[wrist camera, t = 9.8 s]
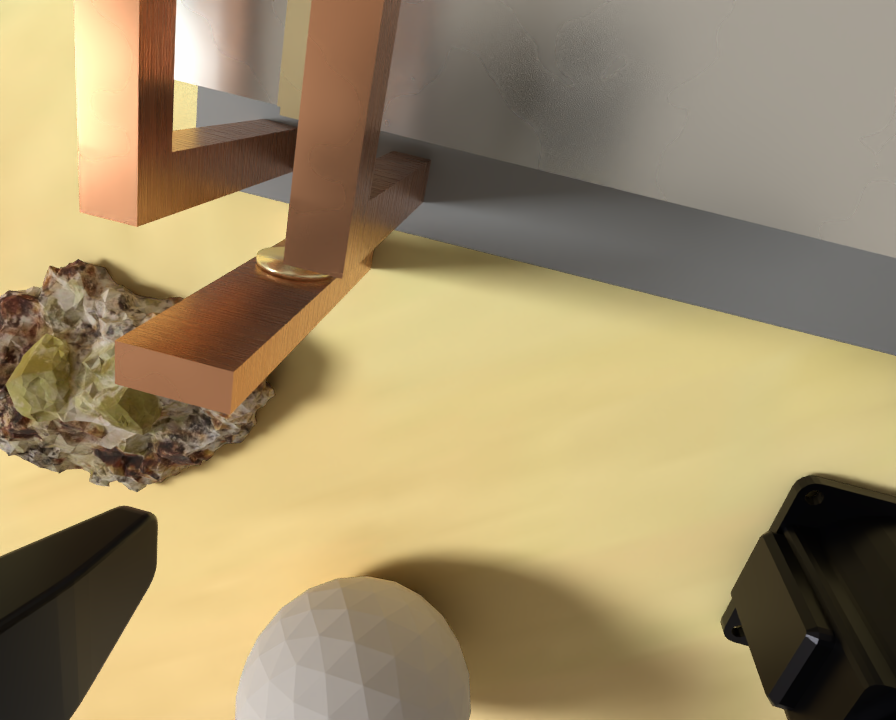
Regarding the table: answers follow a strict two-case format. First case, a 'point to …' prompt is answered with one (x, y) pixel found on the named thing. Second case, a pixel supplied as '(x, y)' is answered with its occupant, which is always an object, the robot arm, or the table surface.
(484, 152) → the grey long block
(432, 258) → the table surface
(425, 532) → the table surface
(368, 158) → the collar
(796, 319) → the board
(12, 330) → the mineral rock
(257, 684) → the white faceted ball
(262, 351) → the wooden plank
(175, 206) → the angle bracket
